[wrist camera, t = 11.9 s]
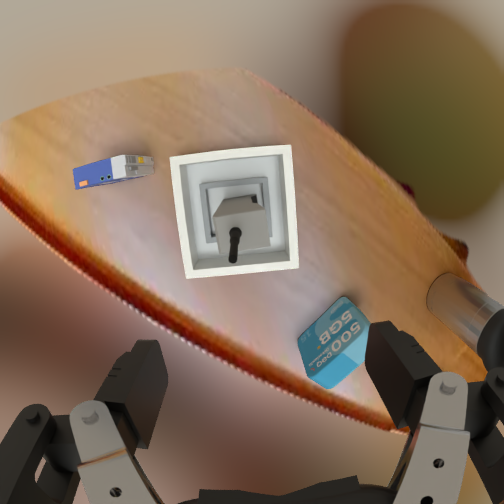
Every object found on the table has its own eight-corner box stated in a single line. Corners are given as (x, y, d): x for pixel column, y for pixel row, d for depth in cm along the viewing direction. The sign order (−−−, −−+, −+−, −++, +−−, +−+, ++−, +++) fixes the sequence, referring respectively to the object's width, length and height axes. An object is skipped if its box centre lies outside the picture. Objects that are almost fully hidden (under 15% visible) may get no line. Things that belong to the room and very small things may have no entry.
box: (284, 147, 42) (290, 144, 36) (292, 255, 47) (298, 268, 41) (179, 158, 42) (169, 157, 36) (192, 265, 47) (186, 278, 41)
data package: (343, 293, 49) (369, 327, 38) (358, 307, 50) (385, 342, 38) (295, 339, 51) (308, 381, 40) (312, 351, 52) (327, 393, 41)
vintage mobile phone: (260, 218, 44) (282, 278, 20) (227, 223, 44) (210, 289, 20) (256, 193, 43) (275, 225, 19) (223, 198, 43) (198, 237, 19)
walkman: (111, 183, 42) (74, 190, 31) (109, 167, 42) (71, 168, 30) (156, 173, 42) (127, 176, 31) (153, 156, 42) (124, 153, 30)
